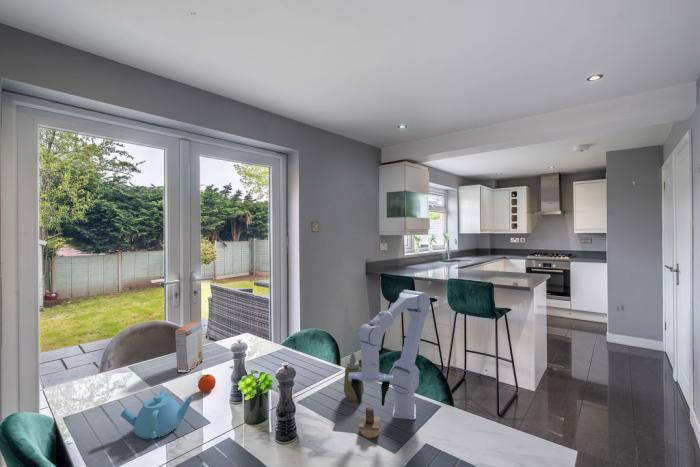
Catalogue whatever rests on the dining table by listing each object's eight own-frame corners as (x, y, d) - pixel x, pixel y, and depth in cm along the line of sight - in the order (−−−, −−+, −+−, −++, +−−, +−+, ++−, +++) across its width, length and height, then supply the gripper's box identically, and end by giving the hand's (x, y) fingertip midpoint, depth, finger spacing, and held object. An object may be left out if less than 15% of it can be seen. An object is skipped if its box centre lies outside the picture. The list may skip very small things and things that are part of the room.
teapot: (159, 412, 124) (158, 382, 123) (195, 420, 118) (194, 389, 118) (118, 436, 109) (117, 403, 109) (157, 447, 103) (155, 412, 103)
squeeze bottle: (362, 404, 125) (361, 357, 125) (341, 403, 126) (340, 356, 126) (365, 394, 133) (364, 350, 132) (346, 392, 134) (345, 349, 134)
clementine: (192, 394, 136) (191, 377, 136) (203, 386, 143) (202, 370, 143) (209, 396, 134) (208, 379, 134) (219, 388, 141) (218, 371, 141)
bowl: (362, 426, 111) (362, 417, 111) (380, 428, 110) (380, 419, 110) (359, 437, 105) (359, 428, 105) (378, 439, 104) (377, 430, 104)
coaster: (338, 416, 118) (338, 415, 117) (363, 418, 116) (363, 417, 116) (332, 431, 109) (332, 430, 109) (358, 434, 107) (358, 433, 107)
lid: (361, 417, 111) (361, 403, 111) (380, 419, 110) (380, 404, 110) (358, 429, 105) (358, 414, 105) (378, 430, 104) (378, 415, 104)
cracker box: (192, 361, 172) (191, 321, 171) (203, 361, 171) (202, 321, 171) (175, 373, 158) (174, 329, 157) (187, 373, 157) (186, 329, 157)
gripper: (345, 365, 105) (347, 407, 105) (391, 368, 102) (392, 411, 102) (350, 356, 112) (351, 396, 112) (393, 359, 109) (394, 400, 109)
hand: (371, 403), depth 107 cm, fingers open, 7 cm apart
